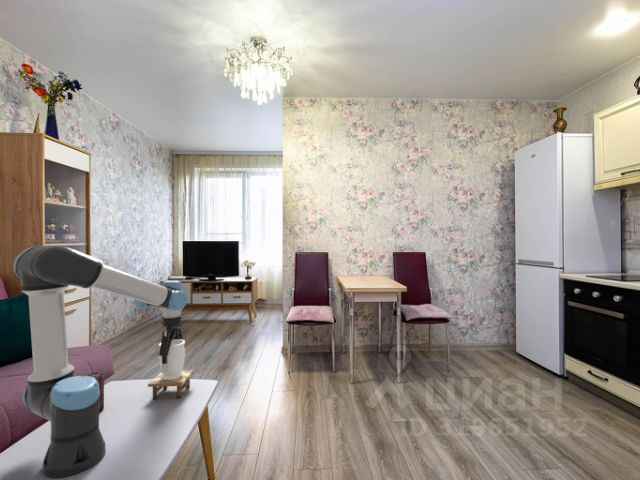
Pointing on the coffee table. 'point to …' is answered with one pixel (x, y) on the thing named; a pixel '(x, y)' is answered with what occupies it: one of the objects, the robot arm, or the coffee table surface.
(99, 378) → the can
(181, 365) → the jar
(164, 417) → the coffee table surface
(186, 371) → the stool
